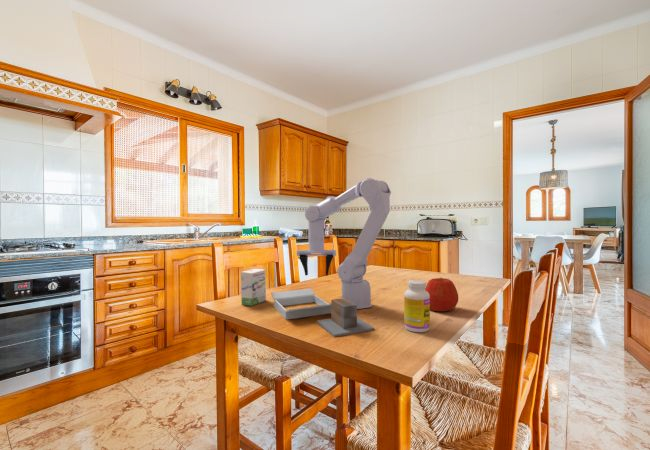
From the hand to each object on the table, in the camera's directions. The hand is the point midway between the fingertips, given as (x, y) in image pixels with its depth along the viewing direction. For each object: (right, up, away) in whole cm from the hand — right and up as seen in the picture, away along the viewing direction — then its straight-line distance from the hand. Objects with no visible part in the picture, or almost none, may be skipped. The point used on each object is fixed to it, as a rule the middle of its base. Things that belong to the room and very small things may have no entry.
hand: (316, 275), depth 113 cm
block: (+8, -9, -27) cm, 30 cm away
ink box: (-23, -10, -2) cm, 25 cm away
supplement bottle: (+28, -10, -30) cm, 43 cm away
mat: (+9, -10, -28) cm, 31 cm away
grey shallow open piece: (-5, -10, -12) cm, 16 cm away
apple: (+41, -9, -13) cm, 44 cm away
